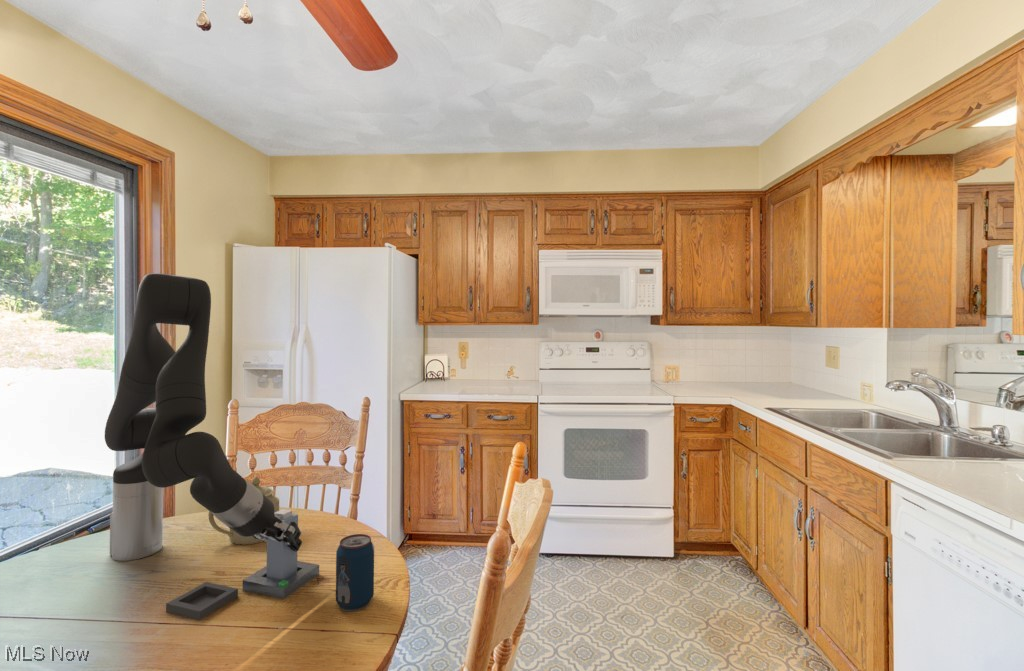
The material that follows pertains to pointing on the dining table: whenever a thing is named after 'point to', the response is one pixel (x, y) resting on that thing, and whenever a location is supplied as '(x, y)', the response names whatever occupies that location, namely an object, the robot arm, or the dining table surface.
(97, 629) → the dining table surface
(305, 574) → the port
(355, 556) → the soda can
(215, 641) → the dining table surface
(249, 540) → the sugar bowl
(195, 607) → the holster
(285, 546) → the plug
